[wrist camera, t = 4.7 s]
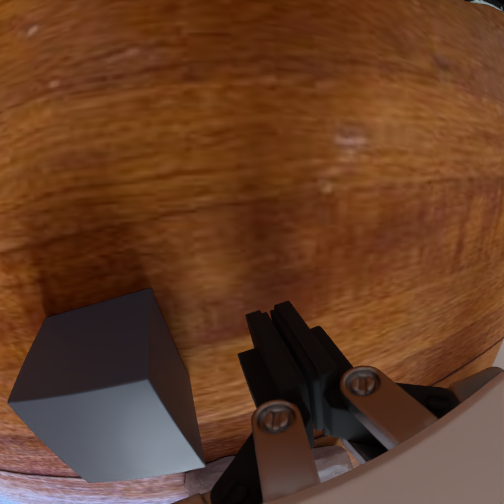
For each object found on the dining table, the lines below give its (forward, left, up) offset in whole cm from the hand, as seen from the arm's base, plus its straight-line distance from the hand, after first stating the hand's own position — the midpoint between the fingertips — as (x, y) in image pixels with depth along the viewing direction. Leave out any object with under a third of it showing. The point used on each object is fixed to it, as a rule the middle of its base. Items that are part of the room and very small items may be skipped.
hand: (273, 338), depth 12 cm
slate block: (0, -6, -2) cm, 7 cm away
